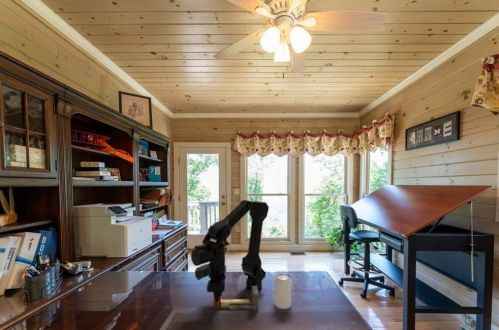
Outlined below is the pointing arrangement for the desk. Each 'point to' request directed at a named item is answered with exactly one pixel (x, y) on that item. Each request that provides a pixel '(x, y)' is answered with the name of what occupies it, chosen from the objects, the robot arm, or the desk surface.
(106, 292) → the desk surface
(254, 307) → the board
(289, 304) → the can
